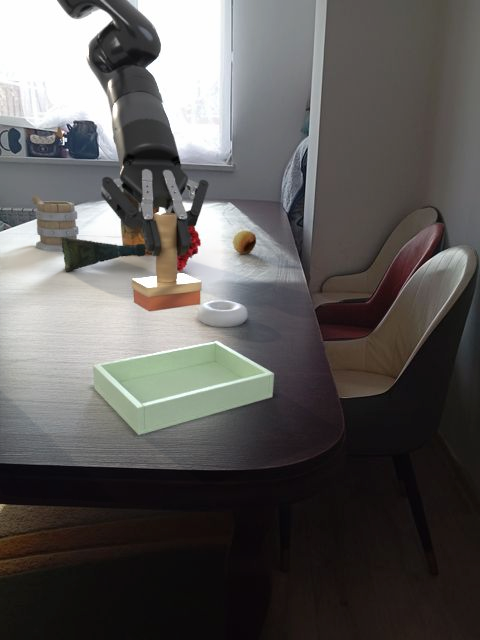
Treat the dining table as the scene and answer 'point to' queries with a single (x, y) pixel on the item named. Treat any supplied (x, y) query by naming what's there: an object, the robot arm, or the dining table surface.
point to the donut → (222, 313)
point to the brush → (166, 274)
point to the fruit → (244, 241)
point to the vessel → (134, 233)
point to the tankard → (54, 223)
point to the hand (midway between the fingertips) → (170, 251)
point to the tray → (180, 385)
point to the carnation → (114, 251)
